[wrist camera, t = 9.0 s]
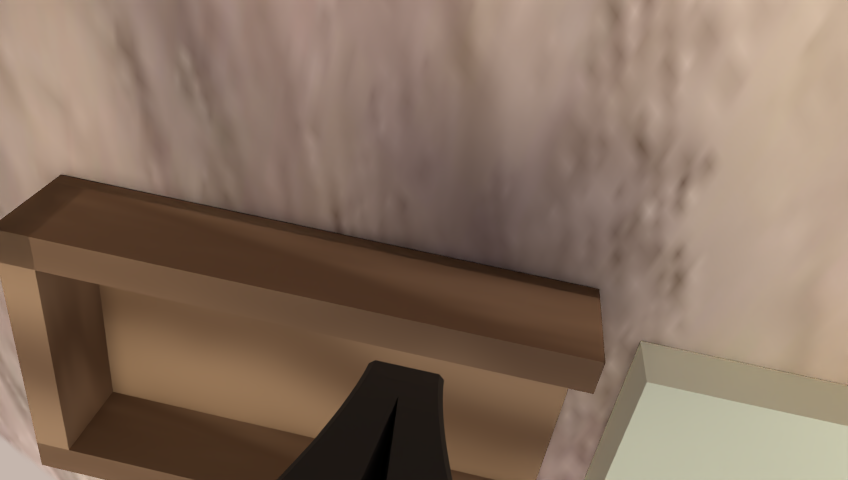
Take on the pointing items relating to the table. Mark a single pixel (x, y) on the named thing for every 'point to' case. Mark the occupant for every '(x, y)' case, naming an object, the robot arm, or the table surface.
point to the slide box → (267, 338)
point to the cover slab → (721, 422)
